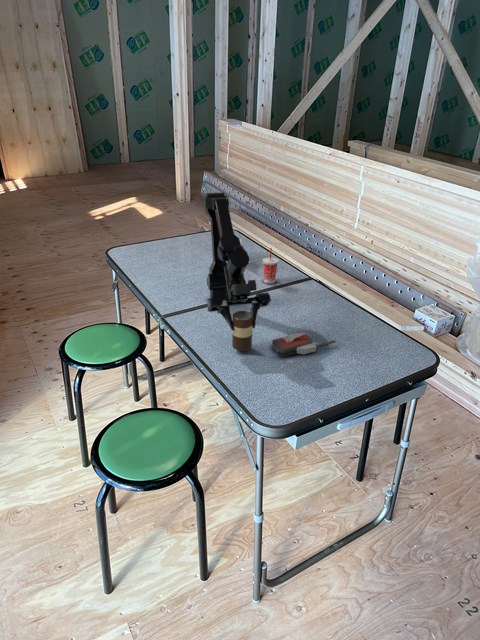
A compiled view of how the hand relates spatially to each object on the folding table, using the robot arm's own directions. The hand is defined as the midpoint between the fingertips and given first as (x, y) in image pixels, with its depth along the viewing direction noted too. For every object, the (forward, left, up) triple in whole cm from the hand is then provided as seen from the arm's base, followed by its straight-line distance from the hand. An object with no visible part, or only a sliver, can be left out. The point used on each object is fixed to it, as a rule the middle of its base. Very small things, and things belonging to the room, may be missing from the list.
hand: (243, 329), depth 146 cm
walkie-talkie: (+18, -5, -8) cm, 20 cm away
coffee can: (0, +1, -7) cm, 7 cm away
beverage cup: (+32, +44, -8) cm, 55 cm away
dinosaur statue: (+28, +68, -8) cm, 74 cm away
